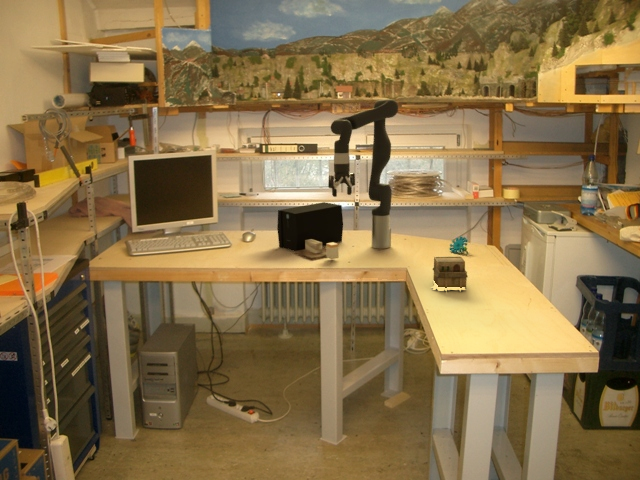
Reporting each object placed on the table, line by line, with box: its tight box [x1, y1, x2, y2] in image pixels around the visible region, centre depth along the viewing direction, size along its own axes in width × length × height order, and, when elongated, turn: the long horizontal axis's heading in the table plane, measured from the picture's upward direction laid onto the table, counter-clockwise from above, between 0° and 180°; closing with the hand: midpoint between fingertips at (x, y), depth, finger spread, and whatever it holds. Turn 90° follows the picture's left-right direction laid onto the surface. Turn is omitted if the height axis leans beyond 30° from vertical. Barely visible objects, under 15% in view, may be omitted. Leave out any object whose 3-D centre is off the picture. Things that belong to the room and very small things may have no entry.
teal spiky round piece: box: [449, 235, 469, 254], centre depth 306 cm, size 11×6×10 cm
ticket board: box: [293, 239, 327, 261], centre depth 305 cm, size 16×16×6 cm
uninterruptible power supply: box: [276, 201, 344, 252], centre depth 324 cm, size 16×34×20 cm, turn 131°
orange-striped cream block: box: [325, 242, 340, 260], centre depth 294 cm, size 4×5×7 cm
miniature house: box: [432, 256, 469, 288], centre depth 251 cm, size 15×14×11 cm
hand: (342, 195), depth 296 cm, fingers open, 8 cm apart
